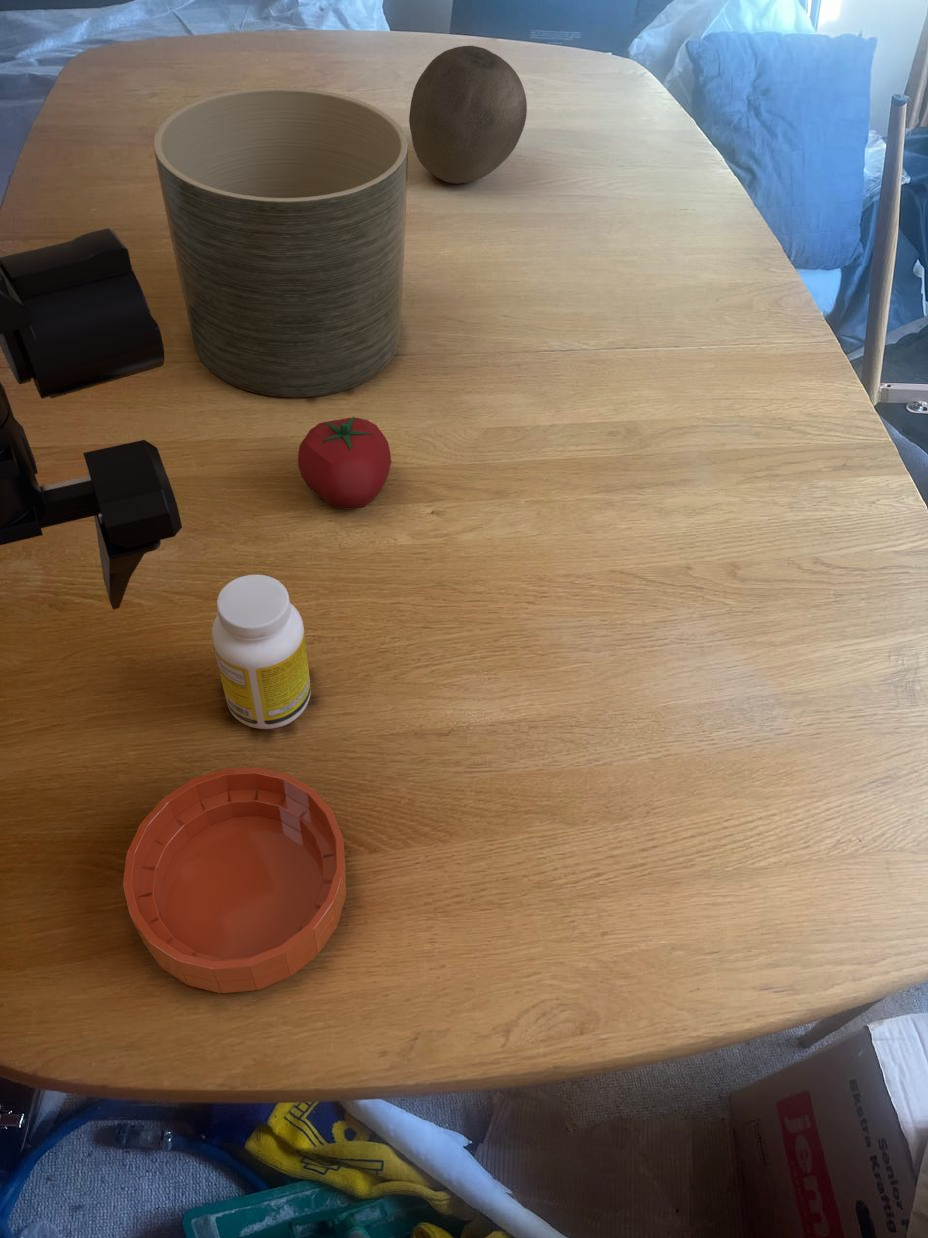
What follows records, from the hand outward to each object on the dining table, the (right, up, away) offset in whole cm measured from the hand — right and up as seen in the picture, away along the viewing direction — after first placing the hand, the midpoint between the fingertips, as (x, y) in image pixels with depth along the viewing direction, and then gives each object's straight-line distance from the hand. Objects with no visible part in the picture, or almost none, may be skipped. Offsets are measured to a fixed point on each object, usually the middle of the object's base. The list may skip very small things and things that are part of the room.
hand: (36, 624), depth 58 cm
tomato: (+15, +12, +28) cm, 34 cm away
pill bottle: (+11, -6, +14) cm, 18 cm away
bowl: (+12, -17, +4) cm, 21 cm away
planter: (+8, +30, +43) cm, 53 cm away
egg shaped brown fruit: (+26, +58, +67) cm, 92 cm away
